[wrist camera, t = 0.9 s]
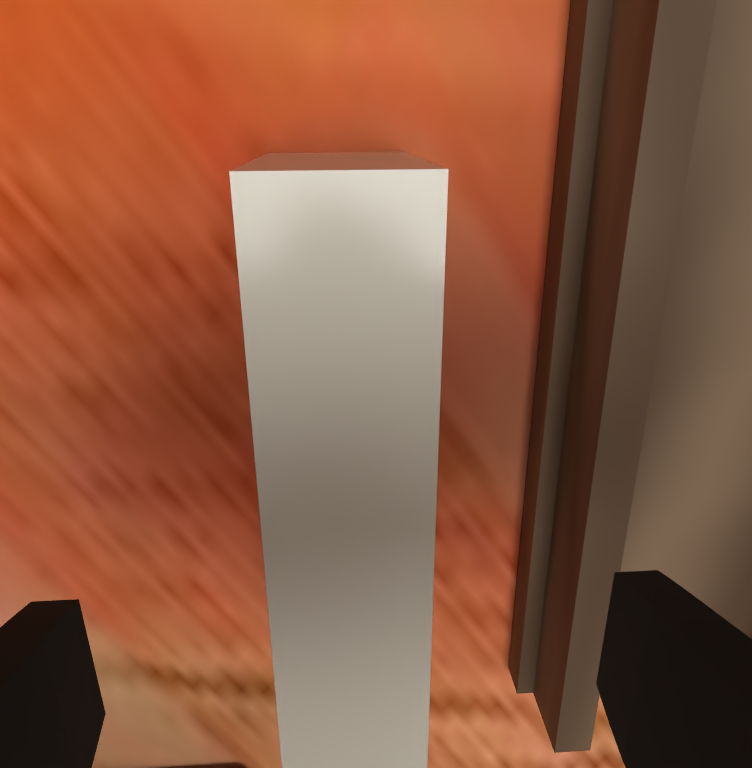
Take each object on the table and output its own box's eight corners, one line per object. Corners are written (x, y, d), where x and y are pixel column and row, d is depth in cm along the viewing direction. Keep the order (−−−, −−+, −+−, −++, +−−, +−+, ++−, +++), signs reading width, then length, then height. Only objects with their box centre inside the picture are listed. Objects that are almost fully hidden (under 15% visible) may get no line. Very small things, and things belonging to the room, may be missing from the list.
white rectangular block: (297, 585, 19) (283, 779, 13) (268, 152, 14) (229, 171, 9) (398, 580, 19) (426, 770, 13) (402, 151, 14) (448, 169, 9)
